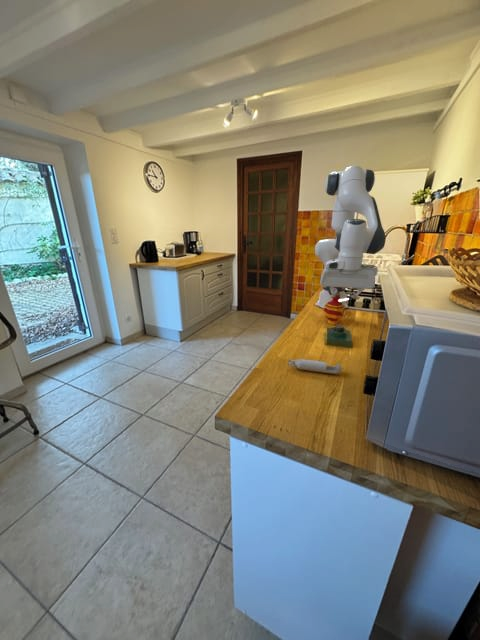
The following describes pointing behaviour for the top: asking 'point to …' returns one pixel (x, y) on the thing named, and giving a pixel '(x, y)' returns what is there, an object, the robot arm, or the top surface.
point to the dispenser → (338, 338)
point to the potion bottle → (334, 310)
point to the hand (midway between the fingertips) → (344, 297)
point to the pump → (339, 328)
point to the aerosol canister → (315, 366)
